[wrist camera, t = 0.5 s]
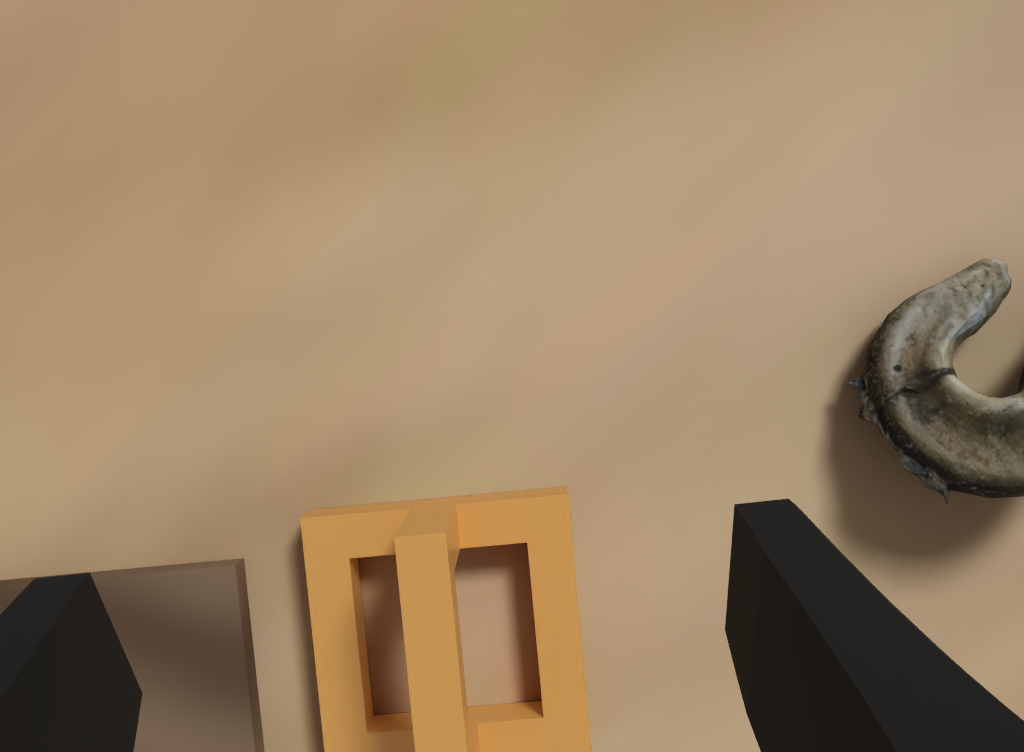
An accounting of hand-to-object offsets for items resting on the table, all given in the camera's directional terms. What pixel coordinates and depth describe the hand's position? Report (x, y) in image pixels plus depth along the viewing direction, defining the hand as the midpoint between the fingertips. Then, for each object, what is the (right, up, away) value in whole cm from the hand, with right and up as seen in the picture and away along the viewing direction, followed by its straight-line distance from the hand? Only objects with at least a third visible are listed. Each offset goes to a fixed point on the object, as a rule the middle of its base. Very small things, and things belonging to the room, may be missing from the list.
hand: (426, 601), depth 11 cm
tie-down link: (-1, -6, +23) cm, 24 cm away
